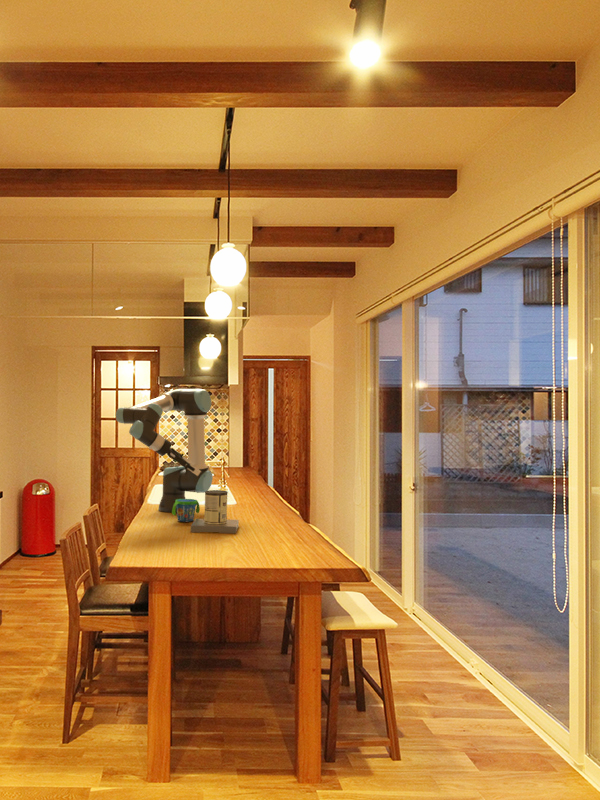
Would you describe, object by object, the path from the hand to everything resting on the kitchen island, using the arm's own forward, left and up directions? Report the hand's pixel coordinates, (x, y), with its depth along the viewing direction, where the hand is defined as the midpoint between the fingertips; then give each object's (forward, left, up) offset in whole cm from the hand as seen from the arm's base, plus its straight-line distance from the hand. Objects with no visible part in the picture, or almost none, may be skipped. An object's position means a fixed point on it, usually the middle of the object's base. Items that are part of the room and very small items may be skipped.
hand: (195, 469), depth 316 cm
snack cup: (-6, -5, -26) cm, 27 cm away
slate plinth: (+13, +11, -26) cm, 31 cm away
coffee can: (+13, +11, -23) cm, 28 cm away
